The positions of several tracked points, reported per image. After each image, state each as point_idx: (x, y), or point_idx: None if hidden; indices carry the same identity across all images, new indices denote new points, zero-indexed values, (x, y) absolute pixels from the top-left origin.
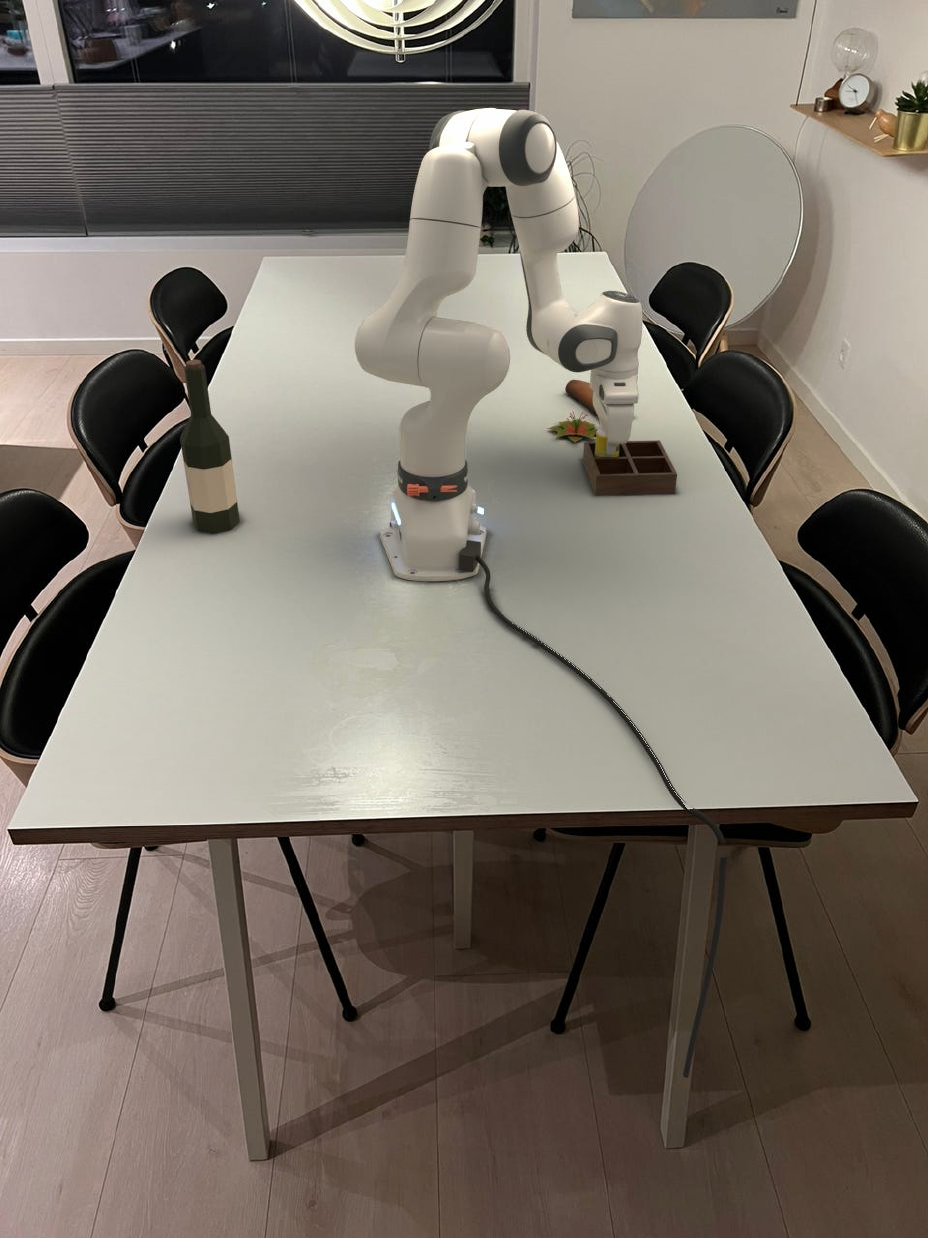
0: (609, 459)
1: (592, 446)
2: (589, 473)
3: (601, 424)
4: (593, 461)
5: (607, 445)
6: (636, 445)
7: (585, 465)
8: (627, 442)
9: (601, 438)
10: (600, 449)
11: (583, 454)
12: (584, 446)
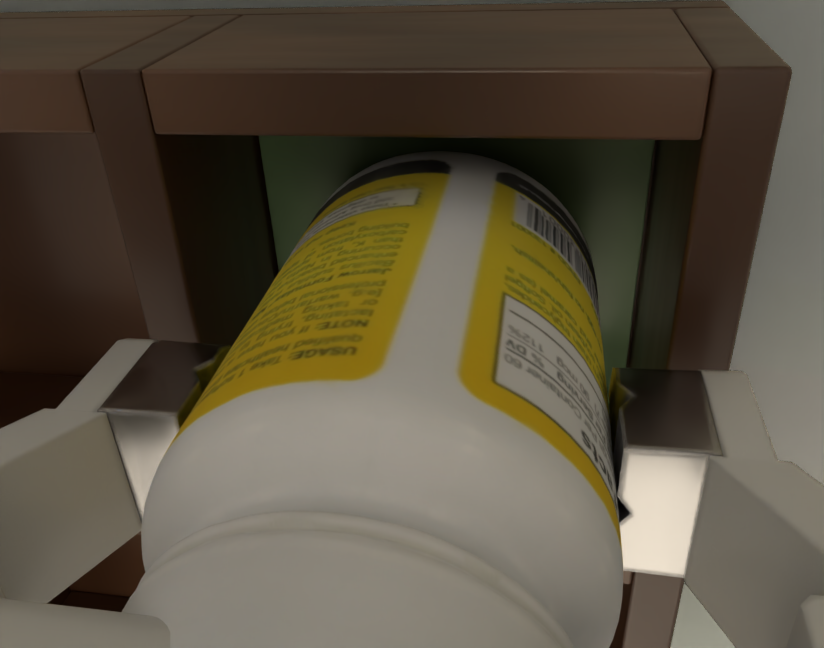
0: (154, 325)
1: (682, 189)
2: (169, 20)
3: (148, 630)
4: (6, 102)
5: (32, 416)
6: (615, 644)
7: (487, 10)
8: (628, 608)
9: (206, 395)
10: (280, 280)
11: (706, 20)
12: (696, 54)
